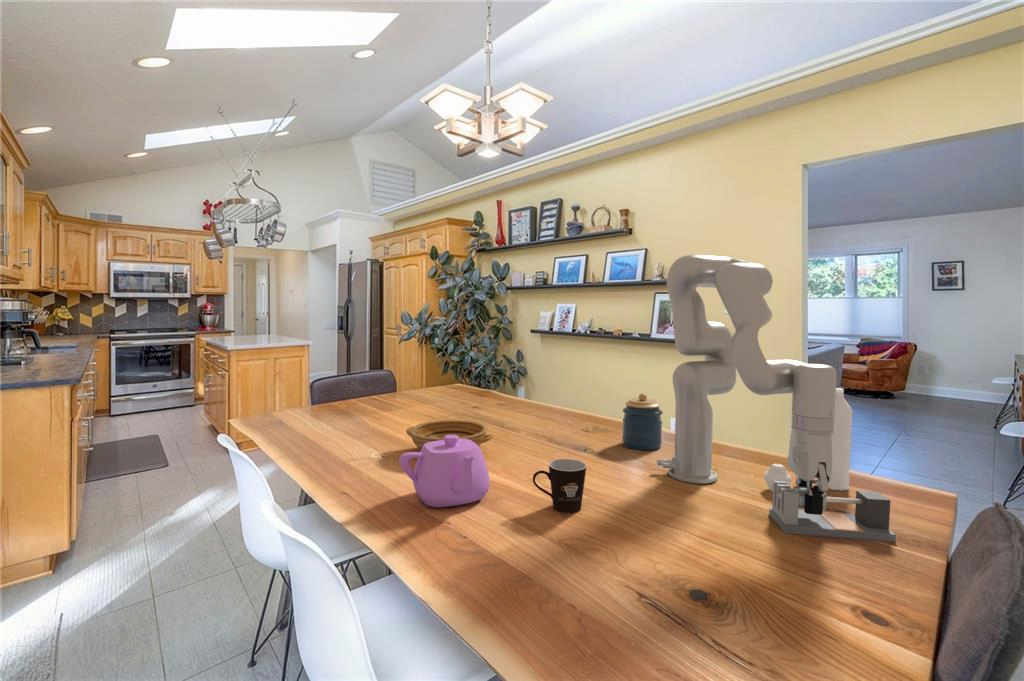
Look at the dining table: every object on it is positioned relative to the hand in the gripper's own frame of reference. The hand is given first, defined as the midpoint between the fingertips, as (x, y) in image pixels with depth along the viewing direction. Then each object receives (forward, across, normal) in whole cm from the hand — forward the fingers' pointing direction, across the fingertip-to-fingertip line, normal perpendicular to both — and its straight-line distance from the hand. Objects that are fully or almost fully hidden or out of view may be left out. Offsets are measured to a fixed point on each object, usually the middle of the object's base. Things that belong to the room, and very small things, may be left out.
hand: (808, 508), depth 99 cm
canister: (+4, -55, -29) cm, 62 cm away
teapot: (+4, 0, -78) cm, 78 cm away
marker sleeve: (-1, 0, 0) cm, 1 cm away
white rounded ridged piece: (+4, -20, +1) cm, 20 cm away
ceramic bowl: (+4, -34, -90) cm, 96 cm away
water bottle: (+4, -27, +17) cm, 32 cm away
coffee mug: (+4, 0, -52) cm, 52 cm away
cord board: (+4, 0, +4) cm, 5 cm away
